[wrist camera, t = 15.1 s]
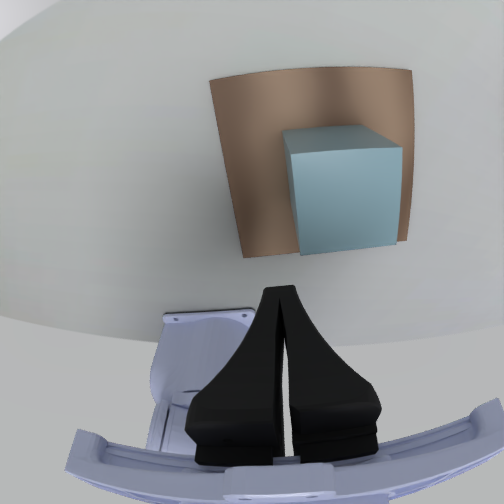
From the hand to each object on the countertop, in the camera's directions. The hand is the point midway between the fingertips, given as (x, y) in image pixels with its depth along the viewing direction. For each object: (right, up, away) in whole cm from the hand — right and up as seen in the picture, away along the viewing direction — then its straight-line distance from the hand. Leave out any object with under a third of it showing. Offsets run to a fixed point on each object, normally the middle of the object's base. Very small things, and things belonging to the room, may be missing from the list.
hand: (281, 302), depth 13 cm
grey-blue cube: (+4, +8, +6) cm, 11 cm away
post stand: (+4, +9, +7) cm, 12 cm away
